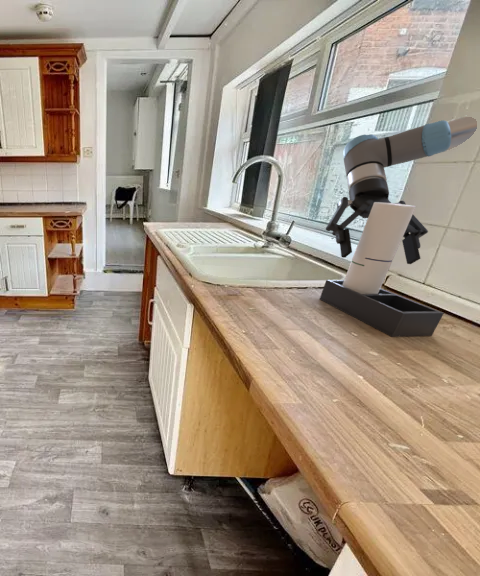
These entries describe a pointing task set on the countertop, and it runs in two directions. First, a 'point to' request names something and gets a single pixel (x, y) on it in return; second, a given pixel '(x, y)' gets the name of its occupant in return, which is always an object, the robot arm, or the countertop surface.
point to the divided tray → (383, 310)
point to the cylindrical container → (377, 246)
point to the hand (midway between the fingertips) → (379, 258)
